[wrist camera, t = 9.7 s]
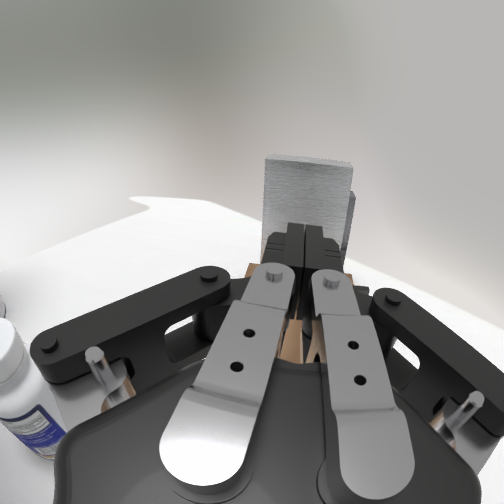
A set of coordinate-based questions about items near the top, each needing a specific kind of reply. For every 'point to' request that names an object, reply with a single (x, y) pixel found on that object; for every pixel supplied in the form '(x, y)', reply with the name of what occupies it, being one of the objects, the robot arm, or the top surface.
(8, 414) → the pill bottle
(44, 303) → the top surface
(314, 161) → the brushed steel sheet
